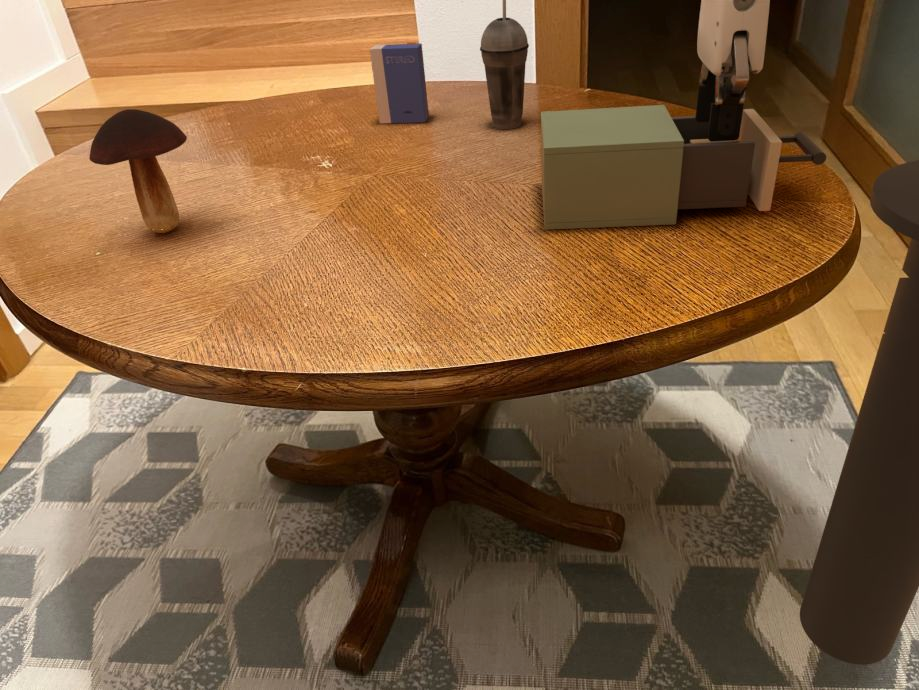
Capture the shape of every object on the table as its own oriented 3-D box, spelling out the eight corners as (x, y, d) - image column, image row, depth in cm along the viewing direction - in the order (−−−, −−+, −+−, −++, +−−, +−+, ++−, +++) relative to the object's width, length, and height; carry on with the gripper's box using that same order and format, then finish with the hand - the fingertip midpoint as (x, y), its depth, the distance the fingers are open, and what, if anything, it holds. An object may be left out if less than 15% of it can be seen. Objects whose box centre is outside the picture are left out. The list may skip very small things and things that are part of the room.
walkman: (429, 117, 121) (421, 40, 114) (425, 122, 119) (417, 45, 112) (383, 118, 123) (373, 42, 116) (379, 123, 120) (368, 46, 114)
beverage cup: (478, 131, 113) (469, -11, 102) (491, 116, 119) (484, -20, 108) (524, 132, 111) (520, -12, 100) (535, 117, 117) (532, -21, 105)
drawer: (792, 170, 89) (804, 105, 85) (824, 208, 80) (839, 138, 76) (632, 177, 91) (636, 115, 87) (645, 216, 82) (650, 148, 78)
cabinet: (658, 181, 92) (664, 104, 87) (676, 224, 82) (684, 140, 76) (541, 186, 93) (540, 111, 88) (544, 230, 83) (543, 147, 78)
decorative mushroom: (106, 253, 87) (57, 128, 79) (141, 214, 96) (101, 99, 88) (195, 248, 86) (156, 121, 78) (222, 209, 95) (190, 92, 87)
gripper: (806, -44, 64) (772, 155, 74) (754, -65, 78) (732, 105, 88) (718, -38, 65) (697, 159, 75) (682, -60, 79) (668, 108, 89)
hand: (716, 128), depth 82 cm, fingers open, 5 cm apart
